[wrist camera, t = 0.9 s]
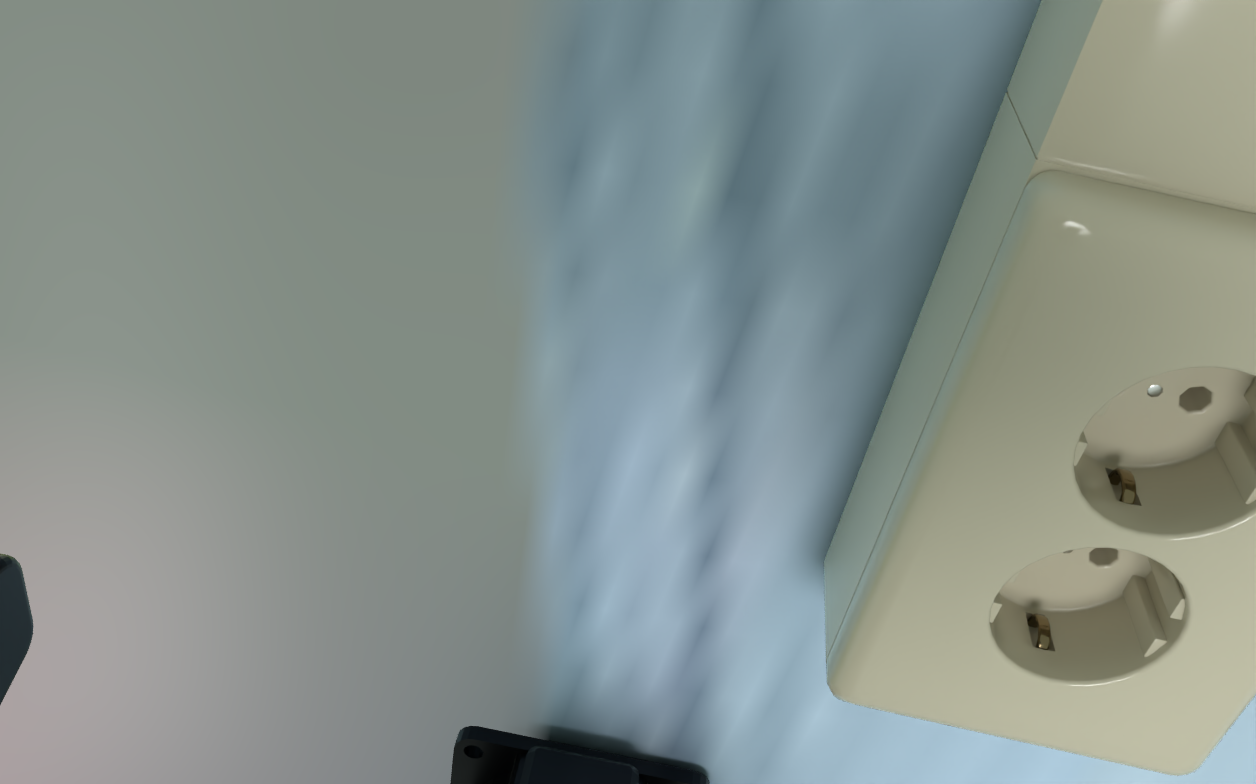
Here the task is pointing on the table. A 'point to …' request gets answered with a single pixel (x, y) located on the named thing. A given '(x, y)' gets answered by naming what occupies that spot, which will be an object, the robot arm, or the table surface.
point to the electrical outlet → (1077, 412)
